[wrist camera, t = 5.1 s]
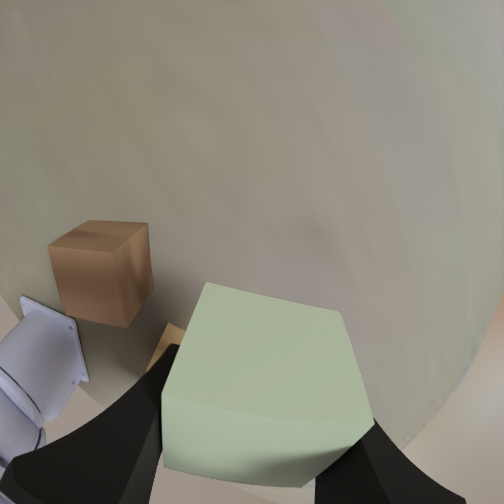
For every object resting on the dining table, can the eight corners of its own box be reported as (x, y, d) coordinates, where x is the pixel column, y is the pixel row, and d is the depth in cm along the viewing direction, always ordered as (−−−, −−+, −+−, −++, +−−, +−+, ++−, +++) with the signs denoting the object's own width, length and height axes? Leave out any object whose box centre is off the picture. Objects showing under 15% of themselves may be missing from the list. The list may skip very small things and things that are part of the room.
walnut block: (154, 287, 20) (127, 328, 15) (99, 280, 20) (65, 314, 15) (148, 222, 18) (112, 252, 13) (89, 220, 18) (47, 245, 13)
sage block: (296, 393, 12) (301, 487, 7) (191, 373, 12) (163, 466, 7) (339, 311, 10) (374, 424, 5) (206, 281, 10) (161, 394, 5)
